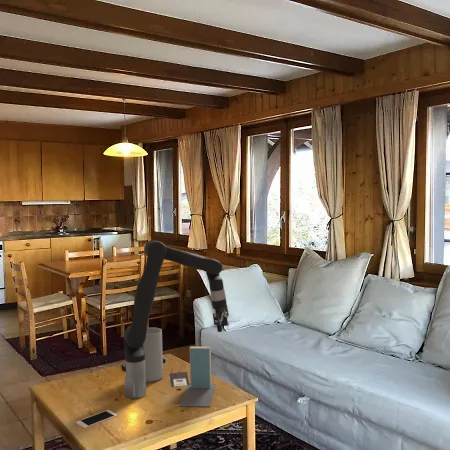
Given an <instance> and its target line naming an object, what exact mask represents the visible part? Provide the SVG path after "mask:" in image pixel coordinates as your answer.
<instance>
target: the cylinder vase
mask: <svg viewBox="0 0 450 450" xmlns="http://www.w3.org/2000/svg"><path fill="white" fill-rule="evenodd" d="M162 331H163V329H162V328H158V327H147V332H146V339H145V342H144V344H143V347H144V352H145V372H146V383H153V382H156V381H159V380H162V378H163V377H164V368H163V367H164V366H163V364H164V362H163V358H164V357H163V332H162Z"/></svg>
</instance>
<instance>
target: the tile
mask: <svg viewBox="0 0 450 450" xmlns="http://www.w3.org/2000/svg"><path fill="white" fill-rule="evenodd" d="M211 358H212V355H211V346H189V366H190V367H189V371H190V372H189V374H190V375H189V376H190V380H189V383H190V384H191V388H211V384H212V365H211V364H212V362H211V361H212V360H211Z"/></svg>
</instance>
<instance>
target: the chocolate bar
mask: <svg viewBox="0 0 450 450" xmlns="http://www.w3.org/2000/svg"><path fill="white" fill-rule="evenodd" d="M169 377H170V385H171V388H173V387H181V386H182V387H183V386H187V385H190V384H189V383H190V380H189V376H188V372H187V371H182V372H170V373H169Z"/></svg>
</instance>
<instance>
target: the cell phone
mask: <svg viewBox="0 0 450 450" xmlns="http://www.w3.org/2000/svg"><path fill="white" fill-rule="evenodd" d="M114 417H118V414H117V413H115V412H113V411H111V410H110V409H106V410H104V411H101V412H98V413H96V414H93V415H90V416H88V417H85V418H83V419H80V420H78V421H77V420H76V421H75V423H76V424H77V425H78V426H80V427H81V428H83V429H86V428H89V427H92V426H95V425H97V424H99V423H101V422H105V421H107V420H109V419H113V418H114Z"/></svg>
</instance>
